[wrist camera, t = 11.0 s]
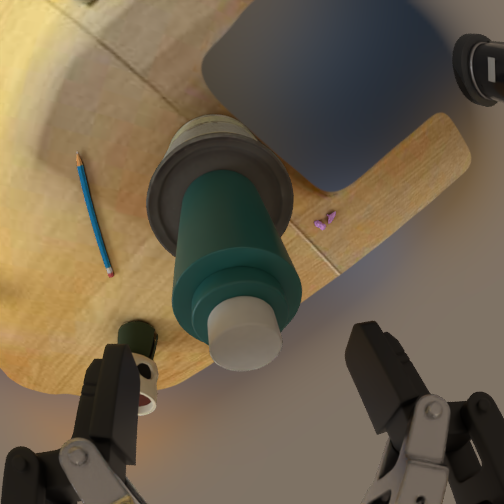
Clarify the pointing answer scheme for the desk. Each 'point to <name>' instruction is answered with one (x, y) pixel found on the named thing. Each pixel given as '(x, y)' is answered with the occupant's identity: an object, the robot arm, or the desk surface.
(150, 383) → the character mug
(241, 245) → the bottle
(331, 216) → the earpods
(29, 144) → the desk surface
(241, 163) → the coffee can
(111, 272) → the pencil
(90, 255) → the desk surface
